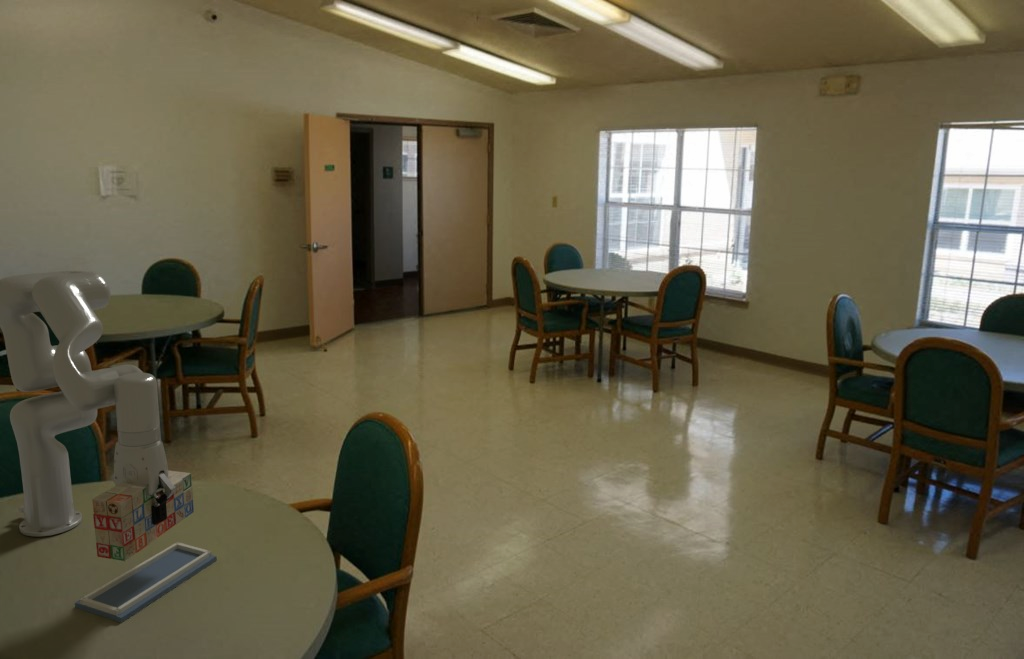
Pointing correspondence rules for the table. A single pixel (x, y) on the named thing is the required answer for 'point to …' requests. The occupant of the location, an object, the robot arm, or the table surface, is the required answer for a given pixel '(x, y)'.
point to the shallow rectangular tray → (146, 582)
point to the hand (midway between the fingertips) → (145, 517)
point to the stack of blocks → (136, 516)
